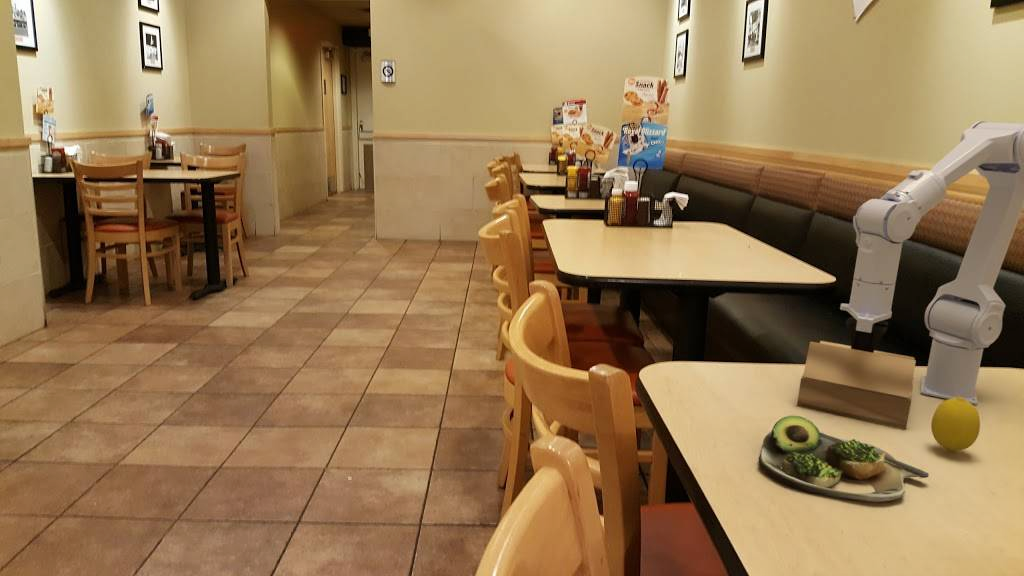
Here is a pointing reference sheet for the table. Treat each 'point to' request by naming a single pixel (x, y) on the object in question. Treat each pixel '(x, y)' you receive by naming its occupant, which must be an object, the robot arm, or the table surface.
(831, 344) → the panel
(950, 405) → the lemon
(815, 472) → the avocado toast plate
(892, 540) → the table surface
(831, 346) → the flap front
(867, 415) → the carton
